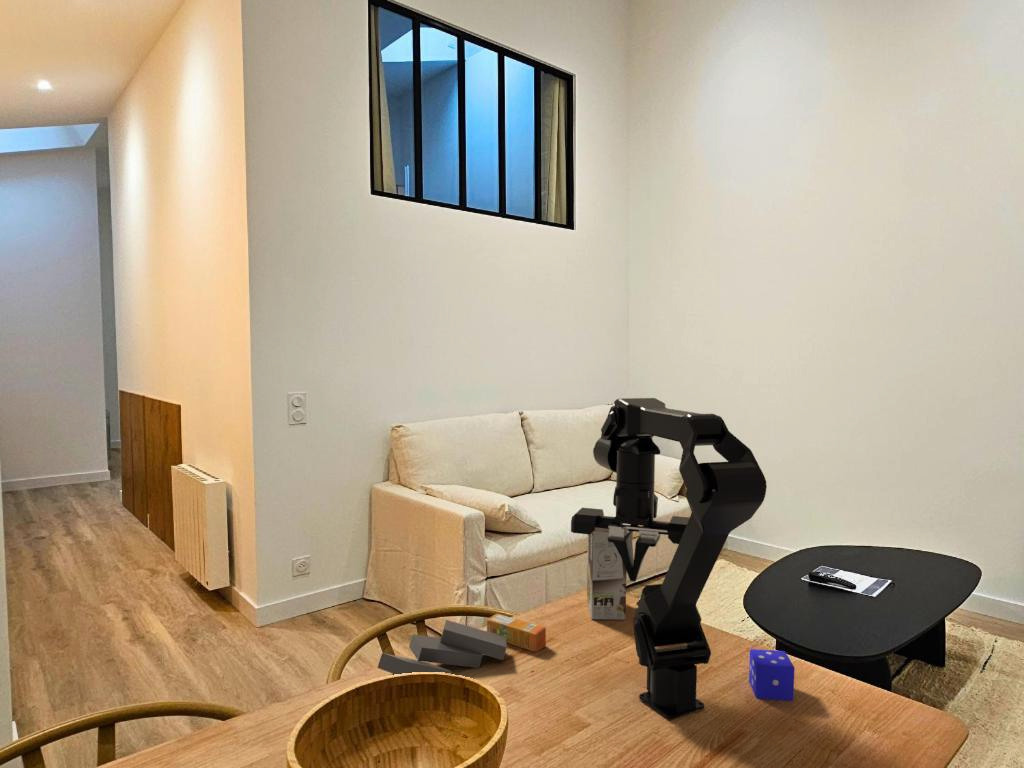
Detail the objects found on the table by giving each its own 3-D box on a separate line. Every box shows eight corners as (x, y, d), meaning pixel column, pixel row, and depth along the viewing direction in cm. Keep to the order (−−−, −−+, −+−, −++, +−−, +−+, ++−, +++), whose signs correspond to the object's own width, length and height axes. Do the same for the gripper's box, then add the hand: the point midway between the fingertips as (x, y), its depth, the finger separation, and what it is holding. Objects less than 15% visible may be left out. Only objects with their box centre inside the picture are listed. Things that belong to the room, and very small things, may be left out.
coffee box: (627, 620, 124) (628, 531, 123) (590, 620, 124) (592, 531, 123) (619, 601, 133) (621, 518, 132) (586, 600, 133) (587, 517, 132)
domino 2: (471, 641, 110) (412, 634, 106) (482, 655, 106) (421, 647, 102) (467, 654, 110) (409, 646, 106) (479, 667, 106) (418, 660, 102)
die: (756, 699, 97) (757, 664, 97) (748, 681, 102) (749, 648, 102) (793, 701, 96) (794, 666, 96) (784, 683, 101) (785, 650, 101)
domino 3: (506, 637, 111) (446, 619, 111) (506, 647, 106) (443, 629, 106) (502, 649, 111) (442, 632, 111) (503, 660, 106) (440, 642, 106)
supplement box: (534, 654, 110) (486, 638, 116) (547, 645, 113) (498, 630, 119) (534, 634, 110) (485, 619, 116) (546, 626, 113) (498, 611, 119)
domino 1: (426, 662, 103) (382, 652, 96) (452, 671, 100) (408, 661, 93) (422, 676, 103) (377, 667, 95) (447, 685, 100) (403, 677, 92)
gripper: (703, 475, 110) (700, 571, 111) (588, 466, 116) (586, 558, 117) (696, 489, 100) (693, 595, 101) (570, 479, 106) (569, 579, 107)
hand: (633, 580), depth 107 cm, fingers closed
